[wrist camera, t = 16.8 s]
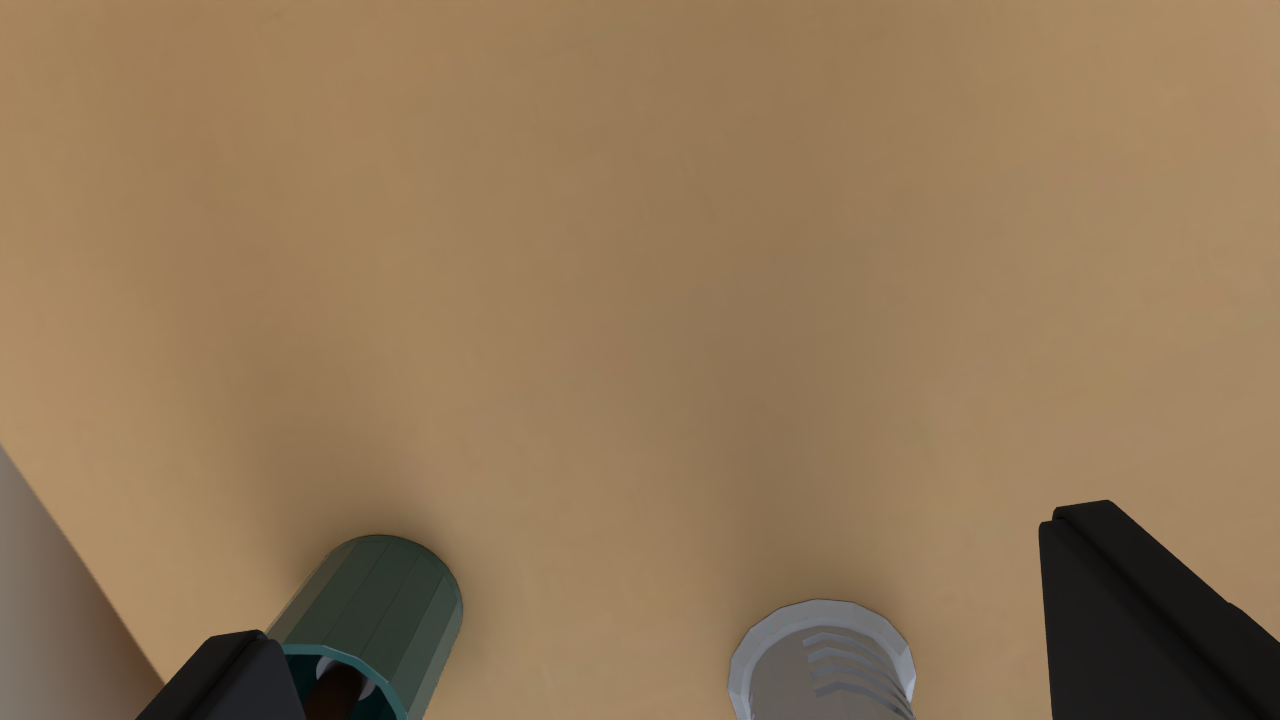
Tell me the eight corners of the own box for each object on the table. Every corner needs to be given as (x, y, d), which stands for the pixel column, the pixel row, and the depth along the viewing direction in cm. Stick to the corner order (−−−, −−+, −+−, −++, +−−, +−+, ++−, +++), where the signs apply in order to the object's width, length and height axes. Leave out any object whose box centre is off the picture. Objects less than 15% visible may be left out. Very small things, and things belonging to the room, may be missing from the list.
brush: (337, 630, 44) (199, 840, 31) (360, 573, 44) (227, 767, 31) (402, 656, 45) (291, 876, 32) (426, 600, 44) (322, 804, 31)
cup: (279, 603, 45) (180, 726, 36) (376, 504, 43) (297, 607, 34) (396, 697, 46) (328, 839, 37) (494, 605, 45) (448, 730, 36)
